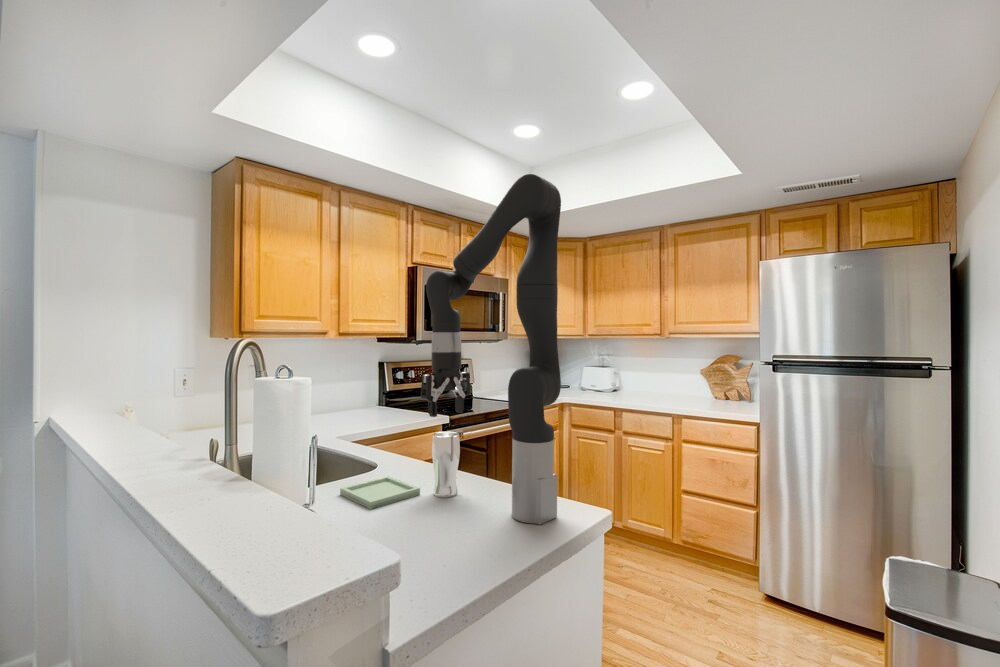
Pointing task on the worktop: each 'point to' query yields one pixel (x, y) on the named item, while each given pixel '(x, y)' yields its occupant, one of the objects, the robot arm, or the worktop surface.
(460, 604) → the worktop surface
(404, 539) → the worktop surface
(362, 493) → the tray
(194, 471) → the worktop surface
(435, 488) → the beer glass
